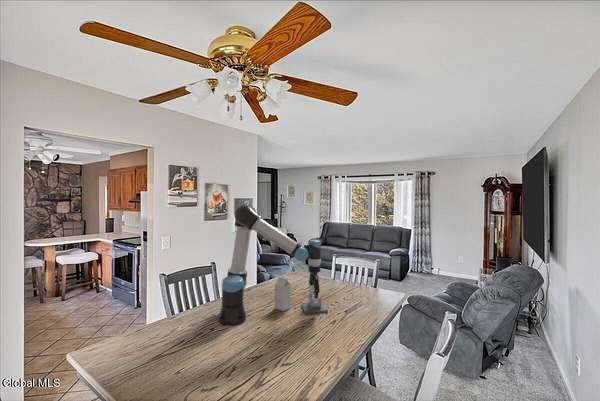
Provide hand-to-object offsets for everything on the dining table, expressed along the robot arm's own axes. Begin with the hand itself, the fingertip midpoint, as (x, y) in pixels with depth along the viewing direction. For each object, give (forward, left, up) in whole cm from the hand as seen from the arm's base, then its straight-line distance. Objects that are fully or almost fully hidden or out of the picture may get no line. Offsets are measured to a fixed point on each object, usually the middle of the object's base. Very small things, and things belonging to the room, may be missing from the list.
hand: (313, 299), depth 179 cm
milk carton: (-19, +3, -6) cm, 20 cm away
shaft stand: (0, 0, -6) cm, 6 cm away
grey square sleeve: (+1, 0, -4) cm, 4 cm away
